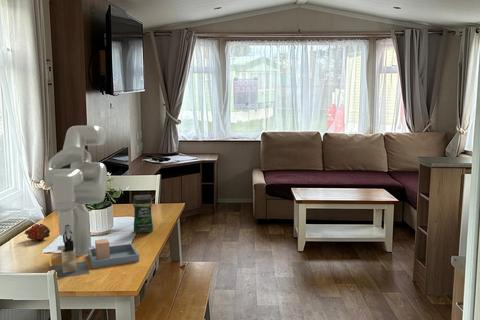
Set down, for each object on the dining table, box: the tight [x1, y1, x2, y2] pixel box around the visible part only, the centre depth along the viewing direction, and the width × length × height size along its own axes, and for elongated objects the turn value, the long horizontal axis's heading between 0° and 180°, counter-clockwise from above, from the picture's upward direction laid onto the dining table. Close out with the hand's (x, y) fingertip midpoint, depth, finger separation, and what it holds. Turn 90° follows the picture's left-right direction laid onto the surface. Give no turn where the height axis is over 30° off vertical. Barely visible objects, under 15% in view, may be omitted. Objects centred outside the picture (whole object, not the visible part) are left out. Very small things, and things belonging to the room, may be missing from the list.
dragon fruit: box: [24, 223, 51, 242], centre depth 231 cm, size 8×8×12 cm
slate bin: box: [87, 242, 140, 269], centre depth 205 cm, size 19×16×4 cm
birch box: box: [60, 248, 77, 273], centre depth 192 cm, size 5×5×8 cm
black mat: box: [49, 260, 90, 279], centre depth 193 cm, size 14×14×1 cm
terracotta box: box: [94, 238, 110, 260], centre depth 203 cm, size 5×5×8 cm
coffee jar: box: [132, 194, 154, 234], centre depth 243 cm, size 10×8×19 cm
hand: (68, 246), depth 192 cm, fingers open, 9 cm apart
